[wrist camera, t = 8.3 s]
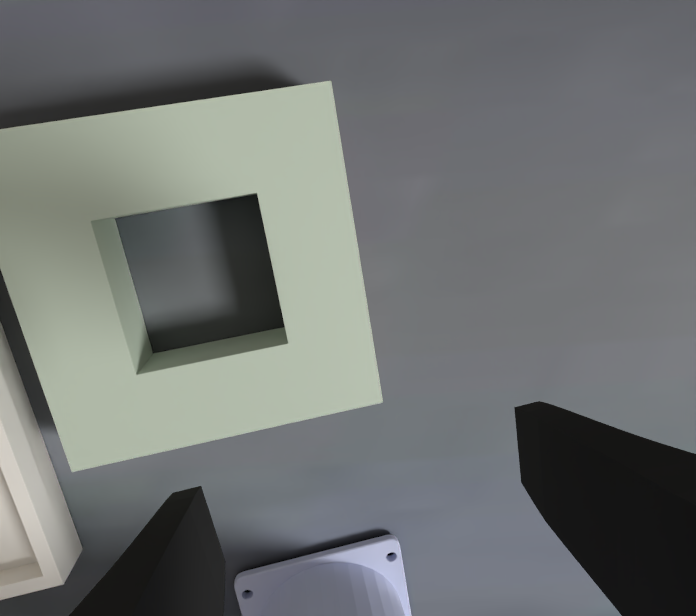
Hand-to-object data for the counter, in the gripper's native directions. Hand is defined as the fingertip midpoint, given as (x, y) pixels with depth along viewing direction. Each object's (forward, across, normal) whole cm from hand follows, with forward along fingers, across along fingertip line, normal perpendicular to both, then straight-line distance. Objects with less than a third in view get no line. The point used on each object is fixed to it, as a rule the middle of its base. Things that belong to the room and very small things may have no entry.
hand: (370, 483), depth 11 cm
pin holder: (+11, +4, -4) cm, 12 cm away
